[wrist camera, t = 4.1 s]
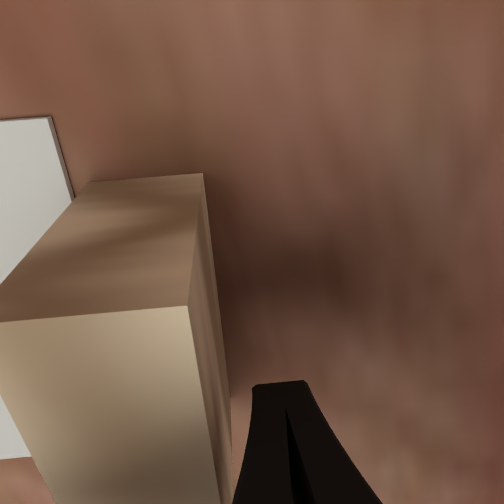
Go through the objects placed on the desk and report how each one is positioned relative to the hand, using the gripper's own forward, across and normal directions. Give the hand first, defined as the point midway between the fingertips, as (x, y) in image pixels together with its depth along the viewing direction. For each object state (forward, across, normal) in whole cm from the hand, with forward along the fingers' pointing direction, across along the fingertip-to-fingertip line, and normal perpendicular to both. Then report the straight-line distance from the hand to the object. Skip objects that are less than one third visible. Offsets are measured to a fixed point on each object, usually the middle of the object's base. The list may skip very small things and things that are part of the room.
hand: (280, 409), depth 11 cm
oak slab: (+5, +3, 0) cm, 6 cm away
